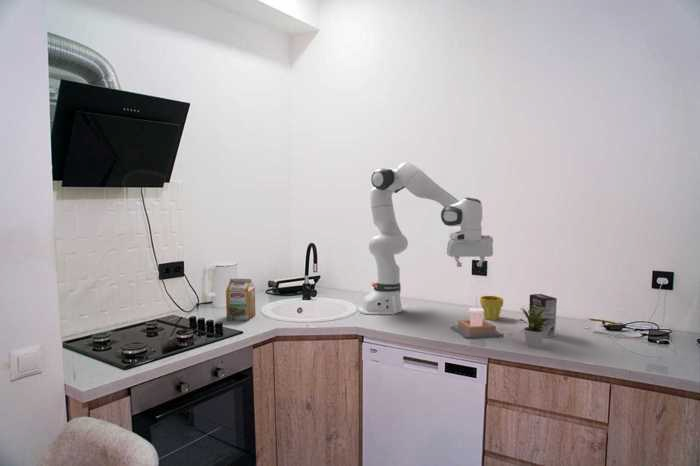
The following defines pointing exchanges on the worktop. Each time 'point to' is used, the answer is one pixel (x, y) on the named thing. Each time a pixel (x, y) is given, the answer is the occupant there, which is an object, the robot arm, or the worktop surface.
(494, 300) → the plant pot
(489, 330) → the cup holder
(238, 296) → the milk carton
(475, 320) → the beverage cup
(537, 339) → the house plant
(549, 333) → the coffee box
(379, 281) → the robot arm
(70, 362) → the worktop surface
